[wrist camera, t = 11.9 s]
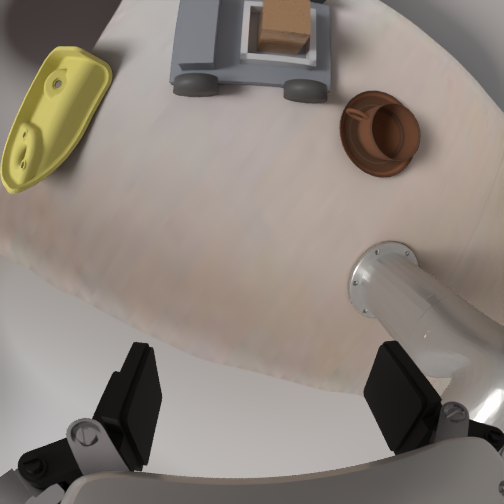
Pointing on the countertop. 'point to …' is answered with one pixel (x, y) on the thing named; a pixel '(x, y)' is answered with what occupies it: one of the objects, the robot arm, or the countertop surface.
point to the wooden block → (284, 26)
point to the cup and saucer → (379, 133)
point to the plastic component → (53, 116)
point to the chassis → (246, 52)
